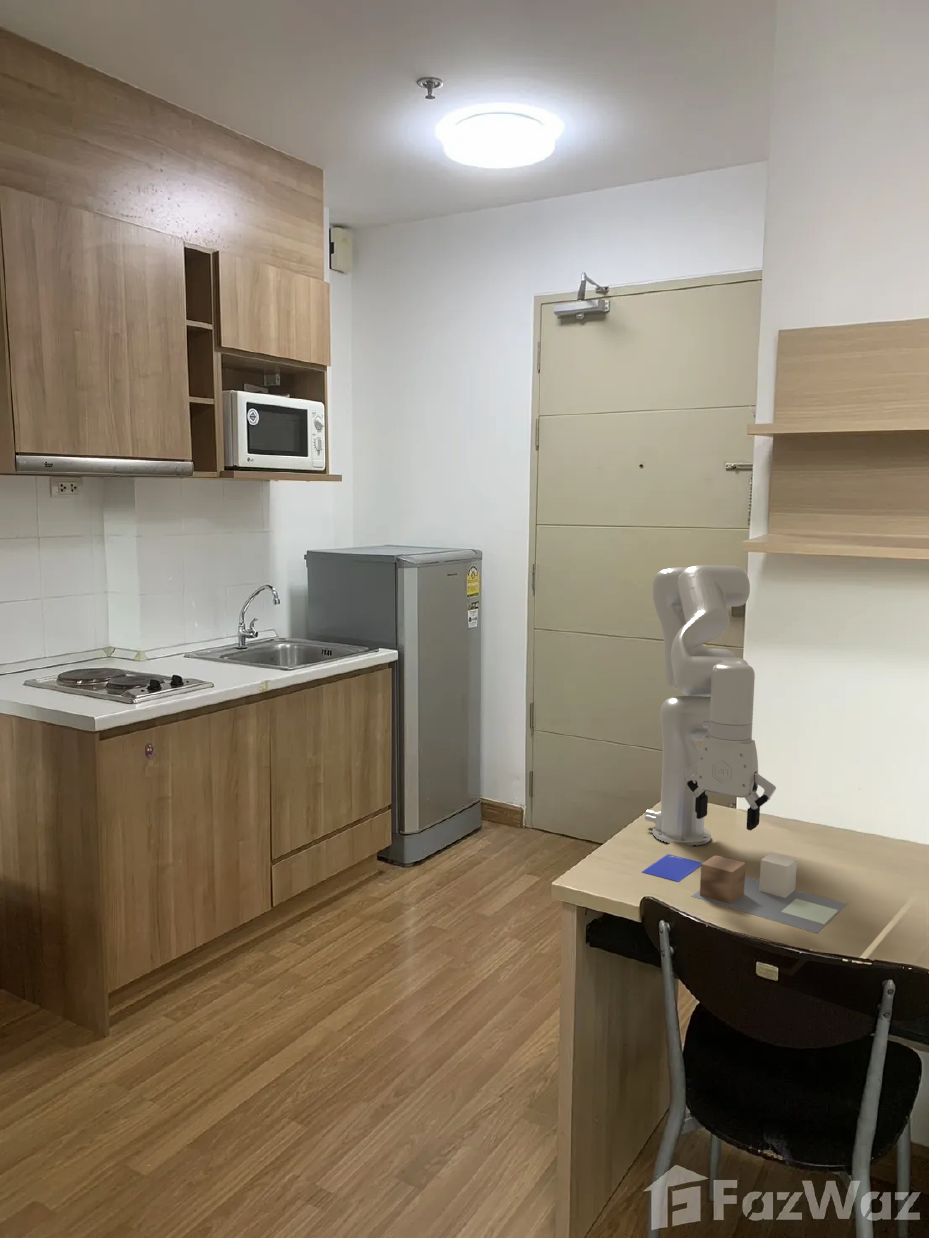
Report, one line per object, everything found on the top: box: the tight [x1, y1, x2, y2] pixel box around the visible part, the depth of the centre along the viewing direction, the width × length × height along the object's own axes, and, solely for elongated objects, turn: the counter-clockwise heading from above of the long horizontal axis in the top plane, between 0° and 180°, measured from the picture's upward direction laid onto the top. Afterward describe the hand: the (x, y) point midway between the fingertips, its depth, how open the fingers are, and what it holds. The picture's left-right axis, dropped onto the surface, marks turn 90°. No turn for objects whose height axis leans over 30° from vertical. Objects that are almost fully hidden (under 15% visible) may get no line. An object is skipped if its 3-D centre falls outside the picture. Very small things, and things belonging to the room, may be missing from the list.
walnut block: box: [699, 854, 747, 904], centre depth 171 cm, size 6×6×6 cm
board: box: [691, 875, 848, 934], centre depth 170 cm, size 23×16×1 cm
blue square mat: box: [641, 853, 703, 883], centre depth 184 cm, size 2×8×12 cm
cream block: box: [759, 852, 798, 898], centre depth 174 cm, size 5×5×6 cm
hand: (726, 822), depth 170 cm, fingers open, 9 cm apart
